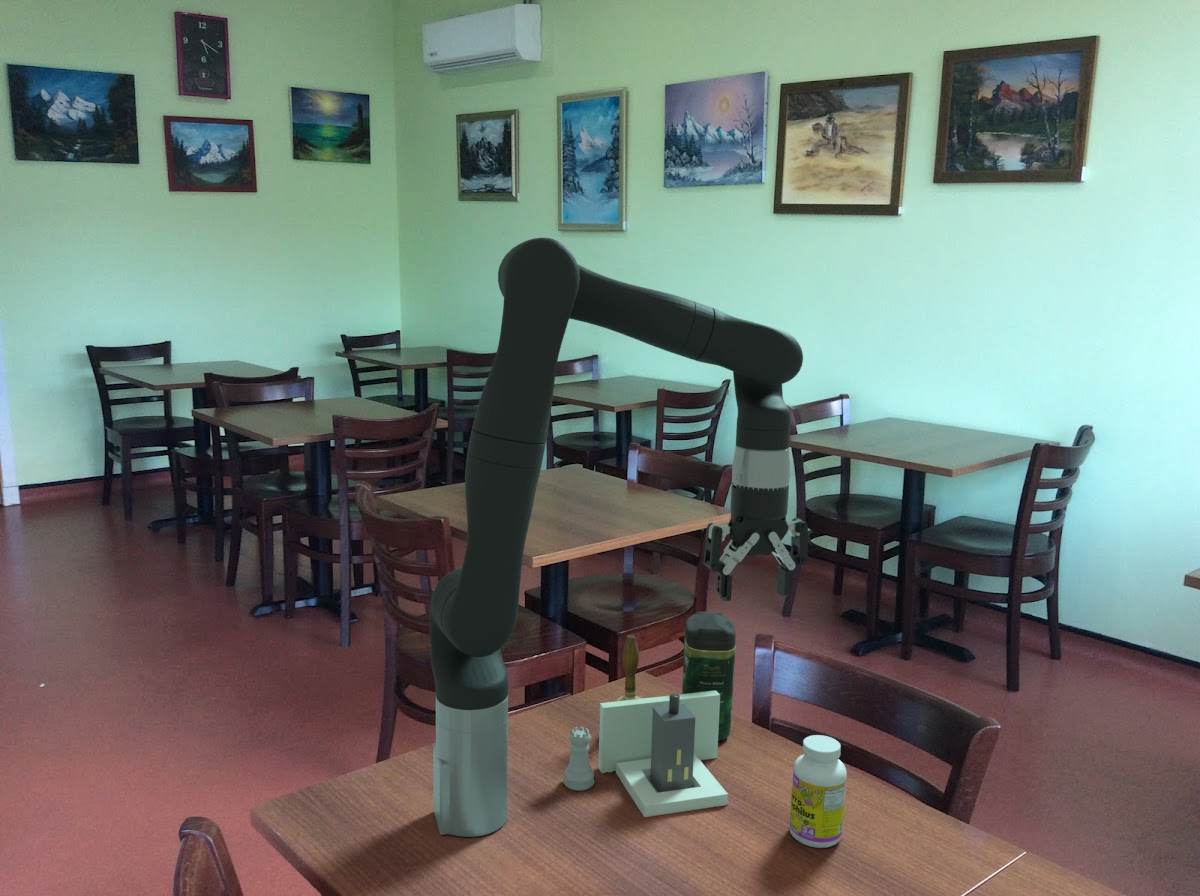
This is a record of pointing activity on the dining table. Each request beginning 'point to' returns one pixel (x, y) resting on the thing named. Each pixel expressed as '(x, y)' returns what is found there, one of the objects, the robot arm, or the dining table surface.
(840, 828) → the supplement bottle
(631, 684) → the hand bell
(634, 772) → the socket
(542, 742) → the dining table surface
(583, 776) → the rook chess piece
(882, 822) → the dining table surface
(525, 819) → the dining table surface
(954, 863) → the dining table surface
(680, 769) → the plug
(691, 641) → the coffee jar
